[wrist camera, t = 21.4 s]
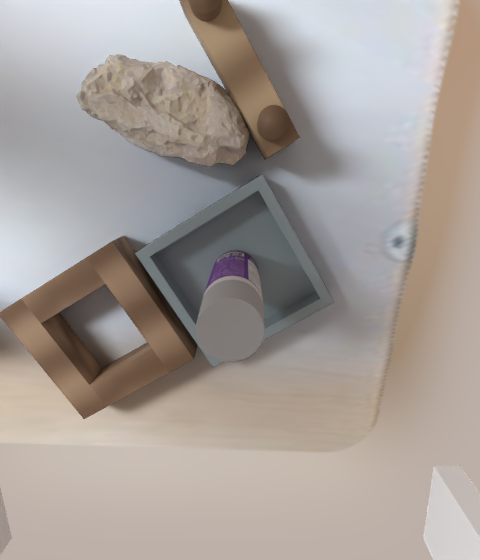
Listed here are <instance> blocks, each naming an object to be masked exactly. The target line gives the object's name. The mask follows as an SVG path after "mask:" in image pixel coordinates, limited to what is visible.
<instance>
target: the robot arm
mask: <svg viewBox="0 0 480 560" xmlns="http://www.w3.org/2000/svg"><path fill="white" fill-rule="evenodd" d="M11 538H12V537H11V532H10V528H9V524H8V520H7V515H6V511H5V506H4V502H3V498H2V494H1V489H0V555H1V554H2V552H3V550H4V549H5V548H6V546H7V545H8V543H9V541H10V540H11ZM423 539H424V541H425V543H426V545H427V548H428V550H429V552H430V554H431V556H432V558H433V560H480V492H479V491H478V490H477V488H476V487H475V486H474V484H473V483H472V482H471V480H470V479H469V477H468V476H467V475H466V473H465V472H464V471H463V469H462V468H461V467H460V466H434V469H433V475H432V482H431V489H430V495H429V502H428V509H427V516H426V522H425V529H424V536H423Z"/></svg>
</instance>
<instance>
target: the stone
mask: <svg viewBox="0 0 480 560" xmlns="http://www.w3.org/2000/svg"><path fill="white" fill-rule="evenodd" d="M77 99H78V101H79V104H80V106H81V108H82V110H85V111H86V112H87V113H88V114H89V115H90V116H92V117H94V118H96V119H99V120H102V121H104V122H105V123H106V124H108V125H109V126H110V127H111V128H112V129H114V130H116V132H118V133H120V134H121V135H122V136H123V137H125V138H126V140H128V141H129V142H131V143H133V144H134V145H136V146H138V147H140V148H143V149H145V150H148V151H150V152H155V153H158V154H159V155H161V156H170V157H180V158H184V159H186V160H187V161H188V162H193V163H197V164H201V165H206V166H213V165H214V164H216V163H225V164H231V165H235V163H236V162H237V161H239V160H240V159H242V158H243V156H244V155H245V154H246V147H247V144H248V139H249V135H250V134H249V131H248V128H247V127H246V126H245V122H244V119H243V117H242V115H241V113H240V111H239V110H238V108H237V106H236V104H235V103H234V101H233V99H232V97H230V96H229V95H228V94H227V93H226V90H225V89H224V88H223V87H221V86H220V85H219V84H217V83H216V82H215V81H213V80H210V79H209V78H206V77H203V76H201V75H199V74H197V73H195V72H193V71H190V70H188V69H186V68H184V67H182V66H180V65H178V66H174V65H172V64H171V63H169V62H164V63H163V62H159V63H149V62H140V61H138V60H136V59H129V58H127V57H126V56H124V55H116V56H109V57H108V58H107V60H106V63H105V64H104V65H99V66H98V67H97V68H93V69H92V71H91V72H90V73H89V74H88V75H87V77H86V79H85V80H84V81H83V82H82V91H81V92H80V93H79V94H78V95H77Z"/></svg>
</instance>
